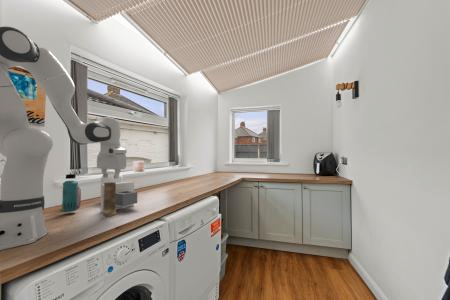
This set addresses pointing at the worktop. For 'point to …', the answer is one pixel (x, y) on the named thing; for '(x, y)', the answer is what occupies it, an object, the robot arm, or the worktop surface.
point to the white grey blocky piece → (122, 195)
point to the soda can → (79, 197)
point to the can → (111, 178)
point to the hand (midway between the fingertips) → (110, 178)
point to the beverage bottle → (70, 194)
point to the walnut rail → (109, 198)
